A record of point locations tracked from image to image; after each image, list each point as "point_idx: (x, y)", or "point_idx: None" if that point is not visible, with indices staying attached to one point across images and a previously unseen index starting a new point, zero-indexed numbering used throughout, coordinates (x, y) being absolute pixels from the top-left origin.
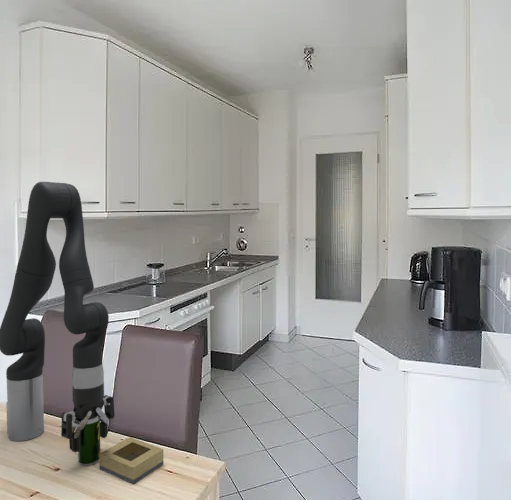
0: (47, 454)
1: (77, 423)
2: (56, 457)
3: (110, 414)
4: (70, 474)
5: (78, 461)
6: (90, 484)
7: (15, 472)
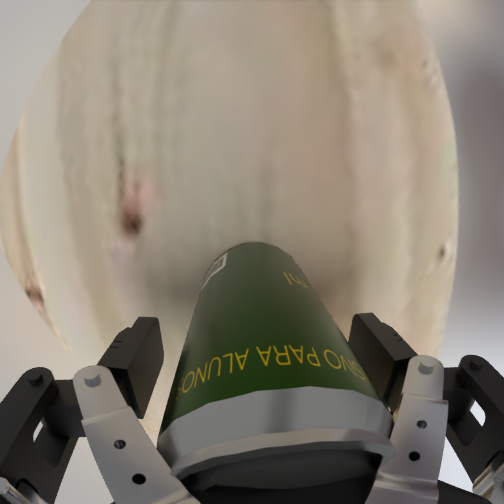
0: (184, 67)
1: (177, 398)
2: (188, 123)
3: (447, 433)
4: (144, 305)
5: (206, 274)
6: (161, 398)
7: (45, 112)
